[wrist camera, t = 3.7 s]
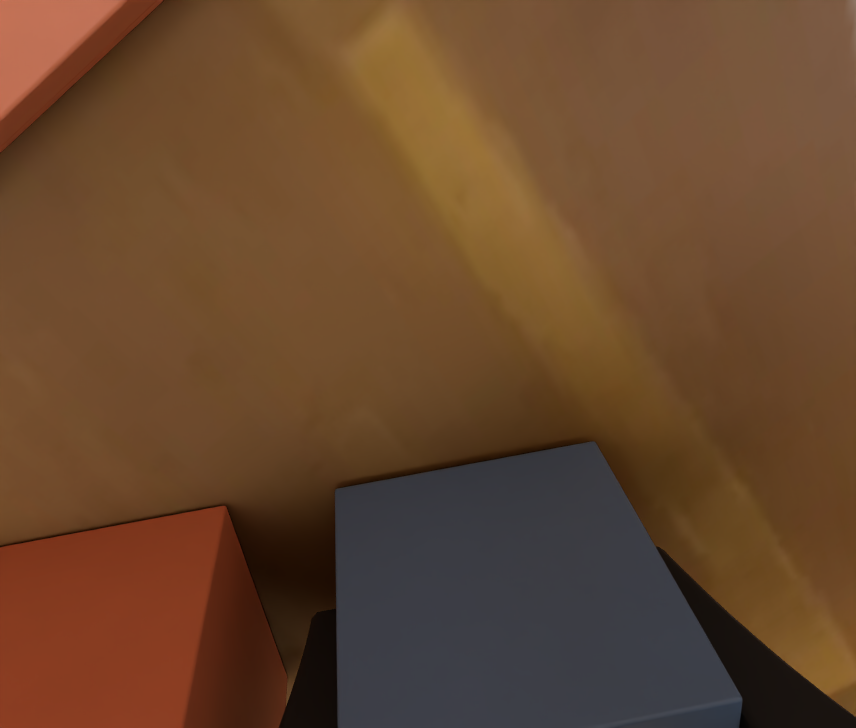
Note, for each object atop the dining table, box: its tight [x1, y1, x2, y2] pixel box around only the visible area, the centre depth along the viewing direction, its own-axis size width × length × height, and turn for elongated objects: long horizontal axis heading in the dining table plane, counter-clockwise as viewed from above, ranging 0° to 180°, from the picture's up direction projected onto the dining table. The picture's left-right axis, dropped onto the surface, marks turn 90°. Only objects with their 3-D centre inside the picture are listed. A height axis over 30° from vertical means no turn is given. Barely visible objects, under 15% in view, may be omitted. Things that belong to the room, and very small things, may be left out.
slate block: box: [335, 441, 742, 728], centre depth 11 cm, size 4×4×5 cm
